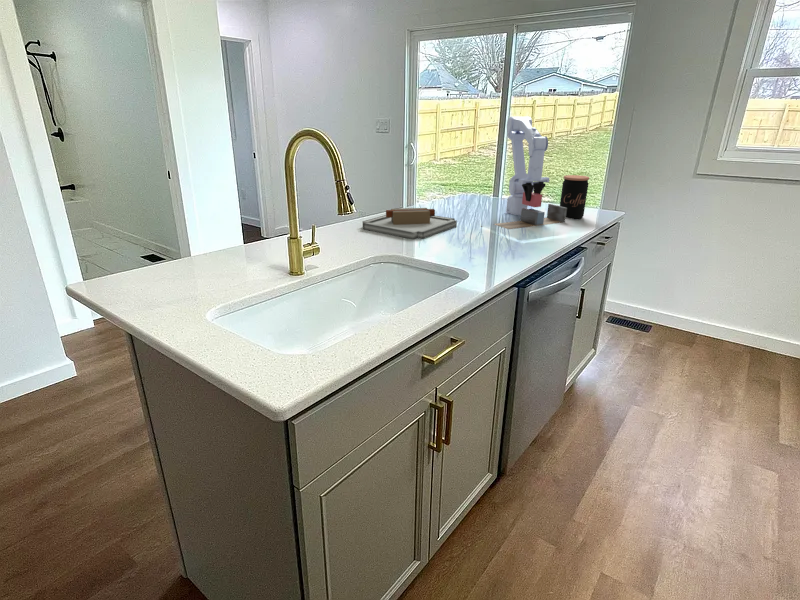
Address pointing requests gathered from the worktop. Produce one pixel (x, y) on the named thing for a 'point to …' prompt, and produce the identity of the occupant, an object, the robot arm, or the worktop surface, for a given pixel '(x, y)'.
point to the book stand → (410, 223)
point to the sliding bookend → (529, 216)
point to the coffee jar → (574, 195)
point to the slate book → (539, 216)
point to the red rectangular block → (533, 200)
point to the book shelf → (553, 216)
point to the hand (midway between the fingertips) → (531, 200)
